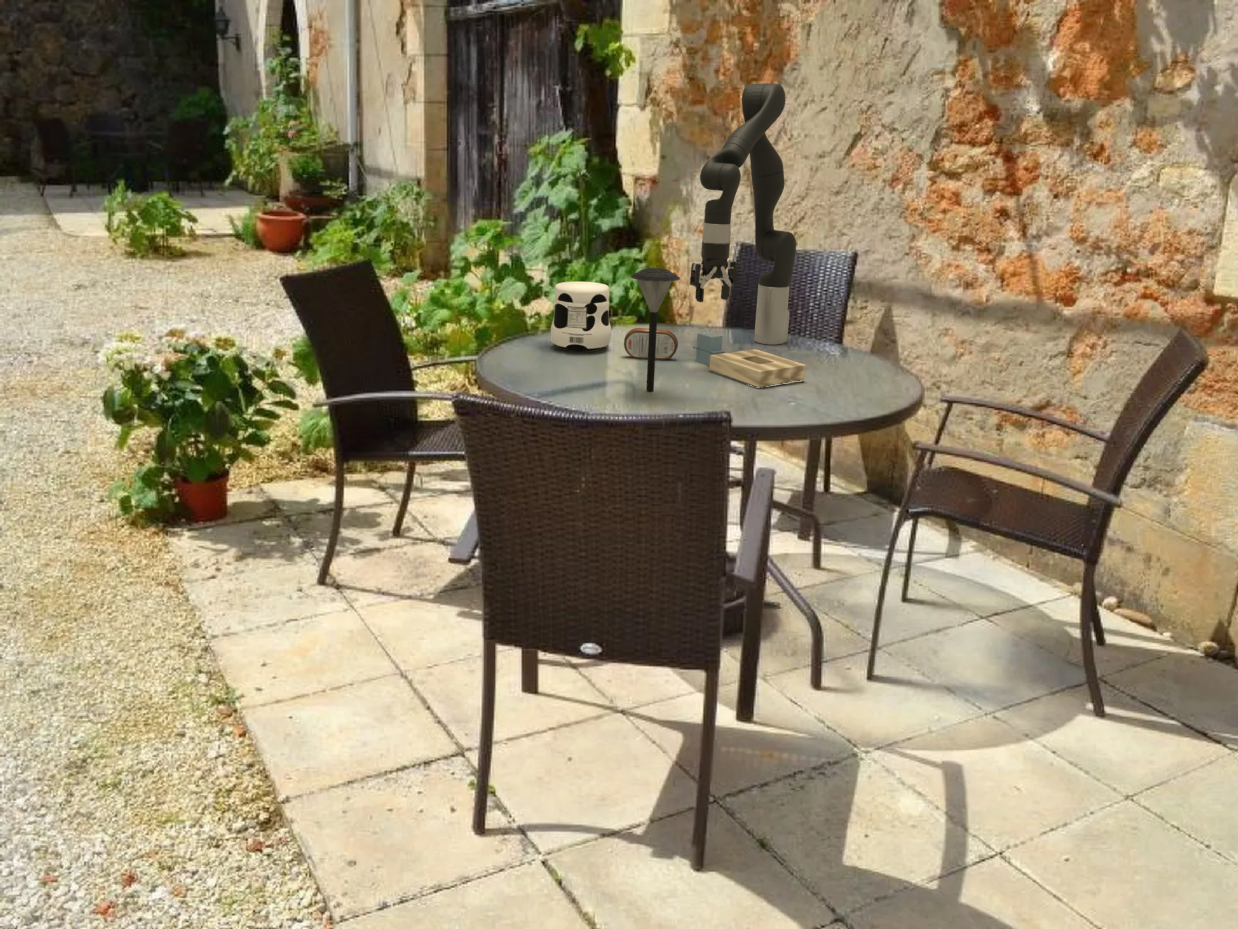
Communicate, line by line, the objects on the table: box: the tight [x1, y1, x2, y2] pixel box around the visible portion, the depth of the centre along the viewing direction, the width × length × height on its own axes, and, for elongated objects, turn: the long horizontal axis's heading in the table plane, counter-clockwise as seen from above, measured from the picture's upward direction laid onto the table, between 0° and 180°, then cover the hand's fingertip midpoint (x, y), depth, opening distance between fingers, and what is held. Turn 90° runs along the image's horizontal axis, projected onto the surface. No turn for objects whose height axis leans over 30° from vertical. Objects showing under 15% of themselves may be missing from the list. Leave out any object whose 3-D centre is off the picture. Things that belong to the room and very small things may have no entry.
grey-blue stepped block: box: [692, 331, 726, 367], centre depth 297 cm, size 4×9×8 cm, turn 34°
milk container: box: [550, 280, 612, 353], centre depth 307 cm, size 17×17×18 cm
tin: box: [623, 327, 679, 361], centre depth 299 cm, size 15×3×8 cm, turn 84°
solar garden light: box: [629, 267, 681, 393], centre depth 263 cm, size 12×12×30 cm
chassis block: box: [708, 348, 807, 388], centre depth 285 cm, size 16×20×4 cm
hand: (712, 300), depth 293 cm, fingers open, 8 cm apart
